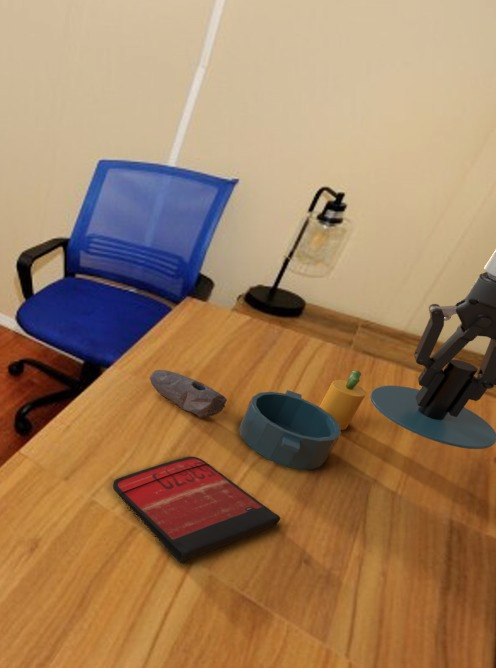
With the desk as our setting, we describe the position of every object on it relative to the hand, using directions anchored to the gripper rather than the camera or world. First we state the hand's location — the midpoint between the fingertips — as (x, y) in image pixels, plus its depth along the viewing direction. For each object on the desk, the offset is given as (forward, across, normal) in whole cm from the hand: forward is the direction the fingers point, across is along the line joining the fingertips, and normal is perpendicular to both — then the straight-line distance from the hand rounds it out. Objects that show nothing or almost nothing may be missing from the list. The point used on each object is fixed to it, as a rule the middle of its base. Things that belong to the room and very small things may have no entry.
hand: (435, 406), depth 83 cm
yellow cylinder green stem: (+19, -7, +16) cm, 26 cm away
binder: (+19, -27, -26) cm, 42 cm away
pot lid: (+2, 0, 0) cm, 2 cm away
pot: (+19, -15, +2) cm, 24 cm away
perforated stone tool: (+19, -33, +3) cm, 38 cm away
